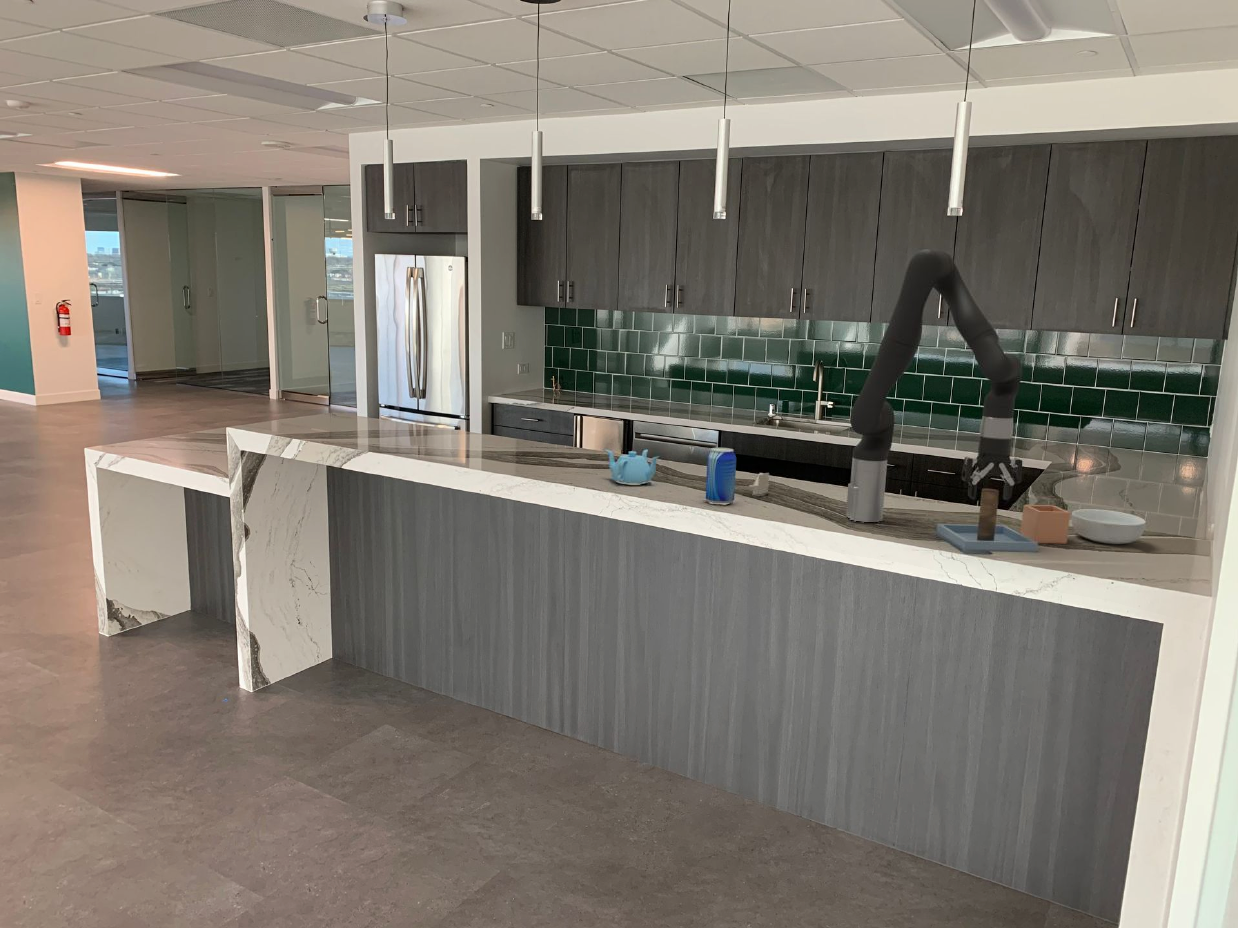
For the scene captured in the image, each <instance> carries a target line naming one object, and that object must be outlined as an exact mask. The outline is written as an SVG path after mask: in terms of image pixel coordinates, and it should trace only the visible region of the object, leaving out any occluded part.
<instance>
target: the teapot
mask: <svg viewBox="0 0 1238 928" xmlns="http://www.w3.org/2000/svg"><path fill="white" fill-rule="evenodd" d="M605 451H606V452H607V455H608V467H609V470H610V472H611V478H612V480H613V481H614V480H616V481H619V482H626V483H643V482H648V481H649V482H650V481H651V480H652V478H653V476H654V475H655V473H656V469H657V468H656V465H657V463H656V462H657V460H658V458H659V457H660V456H661V455H659V456H653V457H652V458H651V460H650V464H649V462H648V460H647V455H648V451H649V450H648V449H644V450H643V451H642V454H641V455H638V454H637V452H636V451H633V450H631V451H628V454H624V455H621V456H619V458H618V459H617V461H615V457H614V453H613V451H611V450H609V449H606V448H605ZM649 482H648V483H649Z"/></svg>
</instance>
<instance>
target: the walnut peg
mask: <svg viewBox="0 0 1238 928" xmlns="http://www.w3.org/2000/svg"><path fill="white" fill-rule="evenodd" d="M999 495H1000V490H999V489H994V488H982V489H981V496H980V505H979V514H978V515H979V516H978V524H977V525H978V534H977V541H994V536H995V526H996V525H997V517H998V515H997V514H998V506H999V497H1000V496H999Z"/></svg>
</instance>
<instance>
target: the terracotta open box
mask: <svg viewBox="0 0 1238 928" xmlns="http://www.w3.org/2000/svg"><path fill="white" fill-rule="evenodd" d="M1022 509H1023V510H1022V518H1021V525H1020V534H1022V535H1024V536H1026V537H1028V538H1030V539H1032V540H1034V541H1035V542H1037V543H1038V544H1065V545H1066V544H1067V543H1068V537H1069V535H1068V534H1069V527H1070V526H1069V525H1070V520H1071V512H1070V511H1068V510H1066V509H1063V508H1061V507H1058V506H1056V505H1045V504H1044V505H1043V504H1041V505H1039V504H1023V507H1022Z"/></svg>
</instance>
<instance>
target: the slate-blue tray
mask: <svg viewBox="0 0 1238 928" xmlns="http://www.w3.org/2000/svg"><path fill="white" fill-rule="evenodd" d="M977 534H978V524H965V523H964V524H962V523H960V524H959V523H958V524H957V523H956V524H955V523H954V524H953V523H952V524H951V523H937V524H936V532H935V535H936V537H938V538H940V539H942V540H943V541H945V542H946V543H948V544H949V545H950V546H952V547H953V548H955V549H957V550H958V551H960V552H961V553H963V554H968V555H969V554H971V555H972V554H974V555H979V554H981V555H982V554H984V555H994V553H993V552H1019V553H1020V552H1025V553H1026V552H1027V553H1028V552H1029V553H1038V549H1039V548H1038V547H1039V543H1037V542H1035V541H1034V540H1032V539H1030V538H1028V537H1026V536H1024V535H1022V534H1021V532H1019V531H1017V530H1014V529H1012V528H1010V527H1008V526H1007V525H1005V524H1004V525H1003V524H1002V525H1001V524H1000V525H999V524H996V526H995V536H994V541H977Z"/></svg>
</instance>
